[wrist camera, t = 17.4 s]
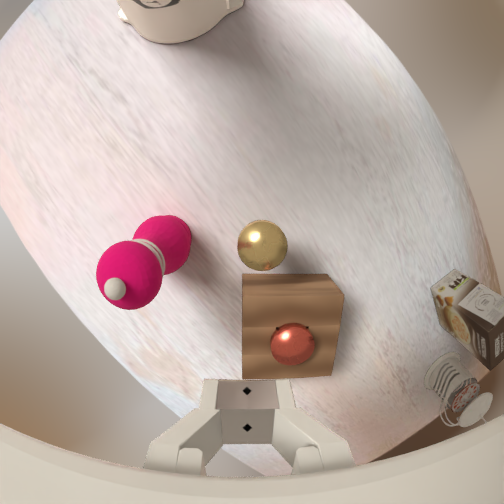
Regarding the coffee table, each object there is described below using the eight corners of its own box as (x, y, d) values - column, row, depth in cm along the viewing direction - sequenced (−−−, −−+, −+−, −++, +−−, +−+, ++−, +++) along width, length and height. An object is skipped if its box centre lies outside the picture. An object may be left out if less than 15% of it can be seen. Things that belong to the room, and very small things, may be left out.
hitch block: (242, 273, 41) (242, 296, 34) (326, 273, 42) (344, 295, 34) (242, 347, 44) (242, 379, 37) (318, 345, 45) (331, 375, 37)
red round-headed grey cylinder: (266, 298, 42) (272, 329, 33) (302, 297, 42) (316, 328, 33) (264, 330, 43) (270, 366, 34) (299, 329, 43) (312, 364, 35)
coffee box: (428, 287, 43) (487, 330, 28) (454, 267, 43) (516, 302, 27) (439, 326, 45) (490, 372, 30) (463, 306, 45) (517, 346, 29)
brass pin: (238, 211, 39) (237, 222, 30) (277, 211, 39) (288, 222, 31) (238, 249, 41) (237, 270, 32) (276, 250, 41) (286, 270, 32)
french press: (467, 353, 48) (535, 421, 24) (441, 396, 51) (496, 469, 26) (438, 350, 47) (512, 430, 23) (411, 396, 50) (467, 481, 25)
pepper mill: (173, 200, 39) (111, 225, 19) (205, 243, 40) (175, 304, 21) (134, 233, 39) (57, 281, 20) (166, 273, 41) (113, 349, 22)
